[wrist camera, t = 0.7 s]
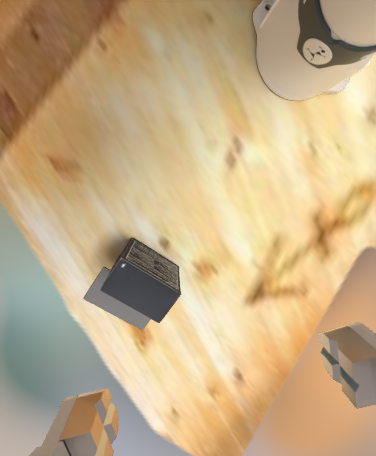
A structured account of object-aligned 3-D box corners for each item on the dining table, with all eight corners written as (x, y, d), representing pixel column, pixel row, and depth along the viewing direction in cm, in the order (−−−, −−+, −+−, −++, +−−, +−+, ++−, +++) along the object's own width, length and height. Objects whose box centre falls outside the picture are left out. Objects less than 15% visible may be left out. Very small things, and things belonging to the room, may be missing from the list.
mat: (104, 266, 45) (103, 267, 44) (163, 300, 47) (163, 301, 47) (83, 298, 46) (83, 298, 45) (142, 329, 48) (142, 330, 48)
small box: (113, 264, 45) (96, 291, 35) (132, 236, 44) (120, 255, 34) (161, 292, 47) (158, 326, 36) (180, 266, 46) (182, 293, 35)
